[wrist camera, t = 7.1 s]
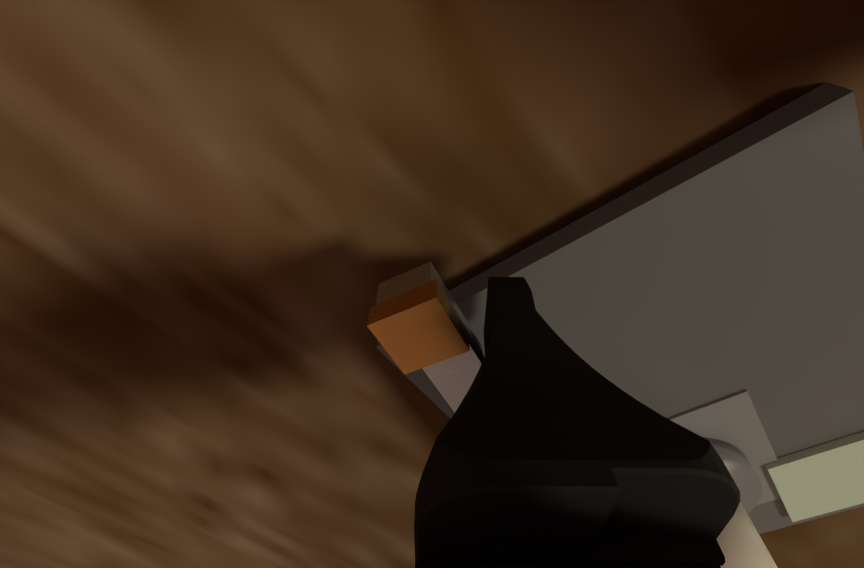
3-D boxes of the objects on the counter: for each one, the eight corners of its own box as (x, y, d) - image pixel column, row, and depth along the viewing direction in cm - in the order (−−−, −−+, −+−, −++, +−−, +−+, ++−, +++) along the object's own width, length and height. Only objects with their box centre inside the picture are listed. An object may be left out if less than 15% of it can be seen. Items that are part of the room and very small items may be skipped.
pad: (788, 515, 21) (792, 522, 21) (763, 462, 19) (767, 469, 19) (915, 480, 19) (921, 487, 19) (905, 417, 17) (912, 424, 17)
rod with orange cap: (593, 514, 18) (605, 556, 17) (541, 526, 19) (548, 568, 18) (443, 255, 11) (444, 294, 10) (367, 288, 12) (359, 328, 11)
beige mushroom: (632, 532, 22) (683, 681, 17) (574, 472, 19) (616, 629, 15) (765, 490, 20) (863, 647, 15) (722, 416, 17) (824, 580, 12)
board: (605, 555, 25) (618, 601, 24) (378, 329, 16) (371, 376, 14) (900, 472, 21) (944, 521, 19) (826, 82, 11) (901, 105, 9)
